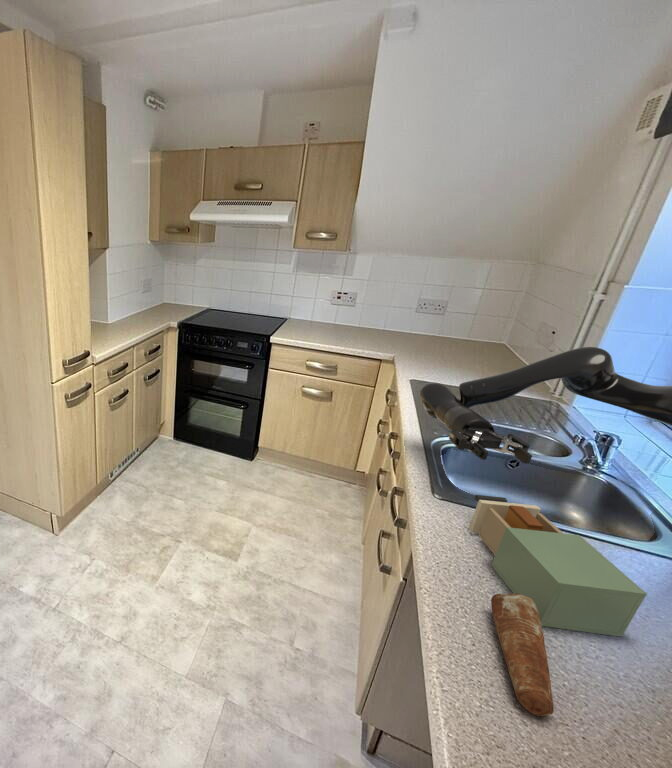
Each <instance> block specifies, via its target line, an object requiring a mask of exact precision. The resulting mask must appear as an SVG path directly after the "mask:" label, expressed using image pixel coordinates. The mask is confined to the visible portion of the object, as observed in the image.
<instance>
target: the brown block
mask: <svg viewBox="0 0 672 768" xmlns="http://www.w3.org/2000/svg"><path fill="white" fill-rule="evenodd" d="M504 521H505V522H506V523H507V524H508V525H509V526H510V527H511V528H519V529H528V530H537V531H541V530H542V529H543V527H544V526H543V525H542V524H541V523H540V522H539V521H538V520H537V519H536V518H535V517H534V516H533V515H532V514H531V513H530V512H529V511H527V510H526V509H525V508H524V507H522V506H513V505H510V506H509V510H508V512H507V515H506V517H505V520H504Z"/></svg>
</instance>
